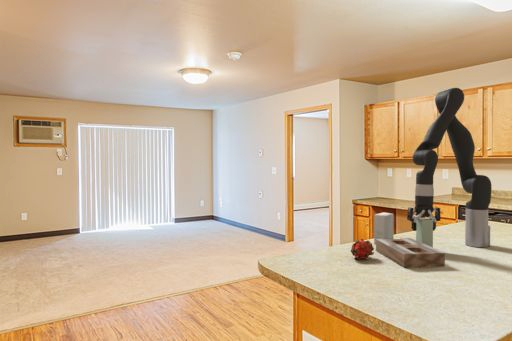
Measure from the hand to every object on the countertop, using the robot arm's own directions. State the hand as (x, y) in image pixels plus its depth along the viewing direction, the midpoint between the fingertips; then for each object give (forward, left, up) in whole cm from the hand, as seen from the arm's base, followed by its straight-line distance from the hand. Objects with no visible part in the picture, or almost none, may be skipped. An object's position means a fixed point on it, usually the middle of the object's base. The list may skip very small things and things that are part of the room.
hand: (423, 230), depth 164 cm
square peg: (0, 0, -9) cm, 9 cm away
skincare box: (+13, -13, -9) cm, 20 cm away
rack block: (+14, +12, -9) cm, 20 cm away
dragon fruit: (+33, +11, -9) cm, 36 cm away
